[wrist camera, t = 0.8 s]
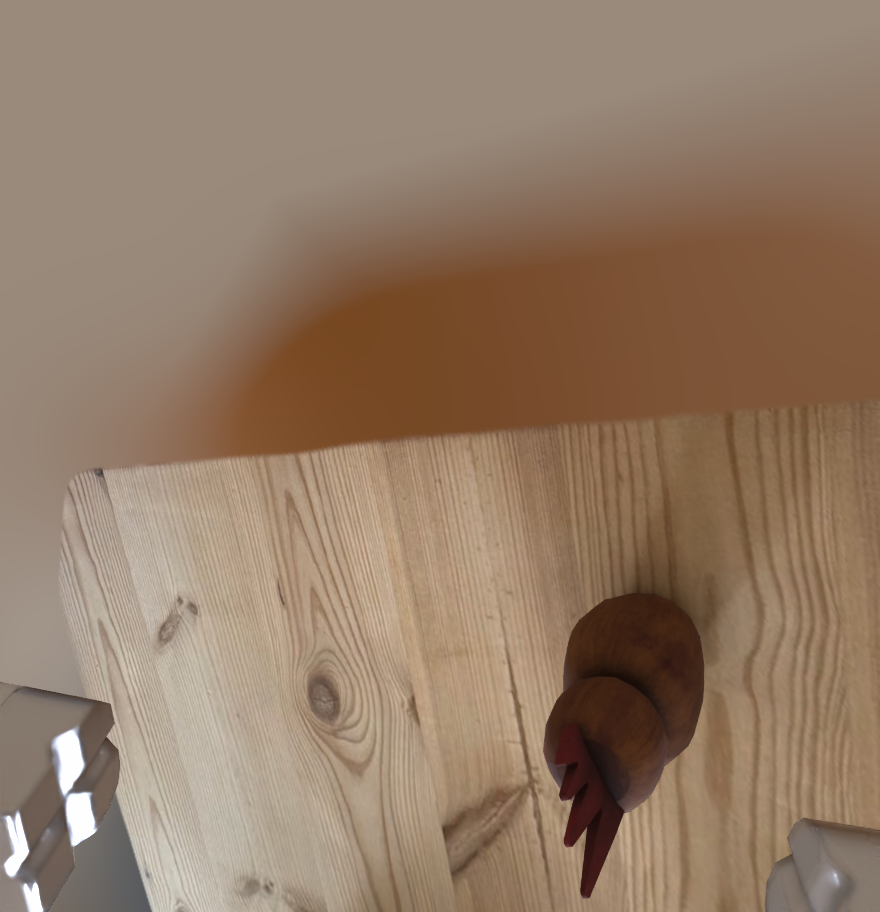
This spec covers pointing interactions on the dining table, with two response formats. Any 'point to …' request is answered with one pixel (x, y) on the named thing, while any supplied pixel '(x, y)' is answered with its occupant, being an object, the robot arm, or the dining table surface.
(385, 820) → the dining table surface
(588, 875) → the wooden figurine
